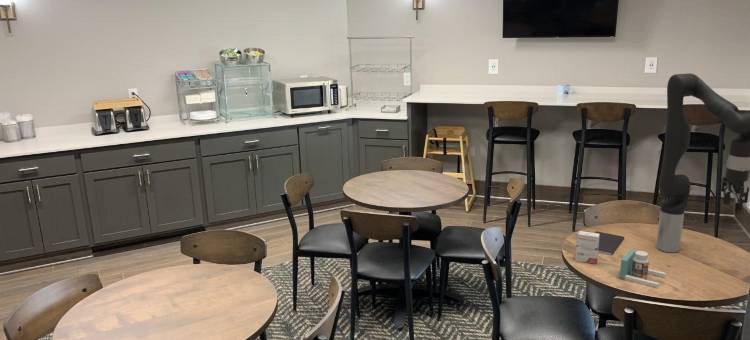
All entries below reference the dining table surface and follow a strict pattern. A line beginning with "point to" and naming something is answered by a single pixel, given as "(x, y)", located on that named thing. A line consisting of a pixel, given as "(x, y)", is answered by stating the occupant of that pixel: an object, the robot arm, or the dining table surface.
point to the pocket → (627, 268)
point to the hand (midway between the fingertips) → (731, 208)
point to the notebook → (608, 243)
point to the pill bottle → (640, 265)
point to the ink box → (587, 247)
